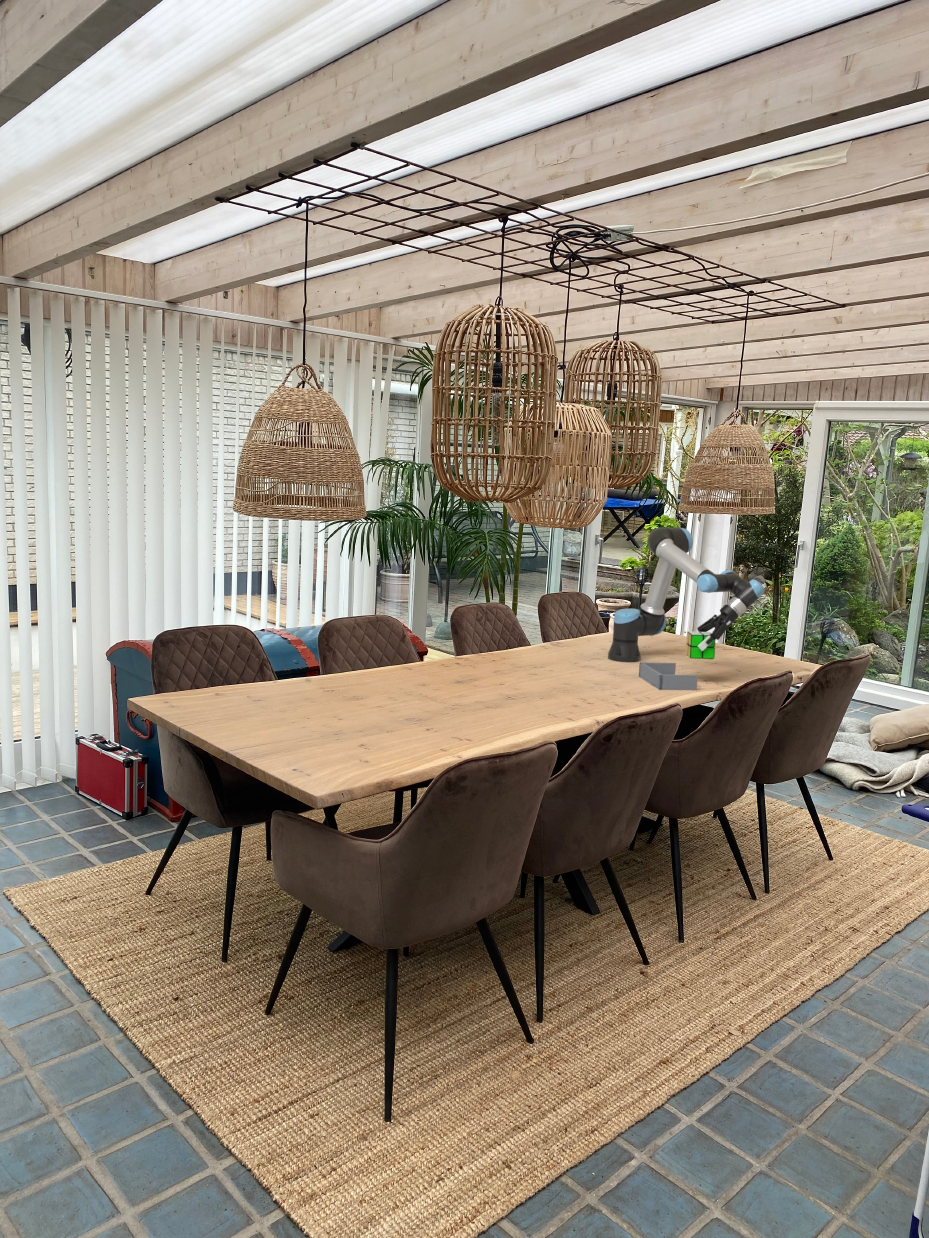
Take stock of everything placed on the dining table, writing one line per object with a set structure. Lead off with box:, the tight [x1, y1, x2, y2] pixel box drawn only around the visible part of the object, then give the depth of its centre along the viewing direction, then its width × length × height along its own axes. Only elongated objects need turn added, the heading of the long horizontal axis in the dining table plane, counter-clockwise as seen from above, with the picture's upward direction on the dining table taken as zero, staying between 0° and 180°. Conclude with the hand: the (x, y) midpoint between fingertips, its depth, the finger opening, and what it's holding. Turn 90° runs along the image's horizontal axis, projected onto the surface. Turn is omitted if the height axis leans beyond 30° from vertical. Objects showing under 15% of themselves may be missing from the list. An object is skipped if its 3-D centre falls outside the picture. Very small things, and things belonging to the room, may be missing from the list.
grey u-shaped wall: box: [638, 662, 699, 691], centre depth 369 cm, size 25×16×6 cm, turn 7°
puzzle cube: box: [685, 630, 716, 660], centre depth 372 cm, size 10×10×10 cm
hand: (694, 646), depth 372 cm, fingers closed on puzzle cube, 11 cm apart
